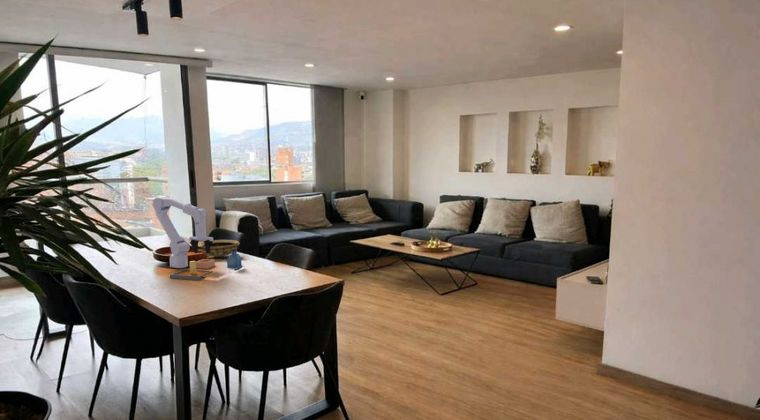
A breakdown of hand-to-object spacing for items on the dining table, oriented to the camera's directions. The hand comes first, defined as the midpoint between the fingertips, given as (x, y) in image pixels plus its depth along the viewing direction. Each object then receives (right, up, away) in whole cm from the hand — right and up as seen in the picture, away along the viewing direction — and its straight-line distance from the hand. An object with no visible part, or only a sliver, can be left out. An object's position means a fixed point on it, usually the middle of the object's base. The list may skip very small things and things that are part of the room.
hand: (202, 253), depth 285 cm
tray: (-2, -12, -11) cm, 16 cm away
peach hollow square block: (0, -10, +5) cm, 11 cm away
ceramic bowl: (-1, -6, +35) cm, 35 cm away
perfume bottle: (+17, -10, +6) cm, 21 cm away
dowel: (-1, -11, -11) cm, 16 cm away
